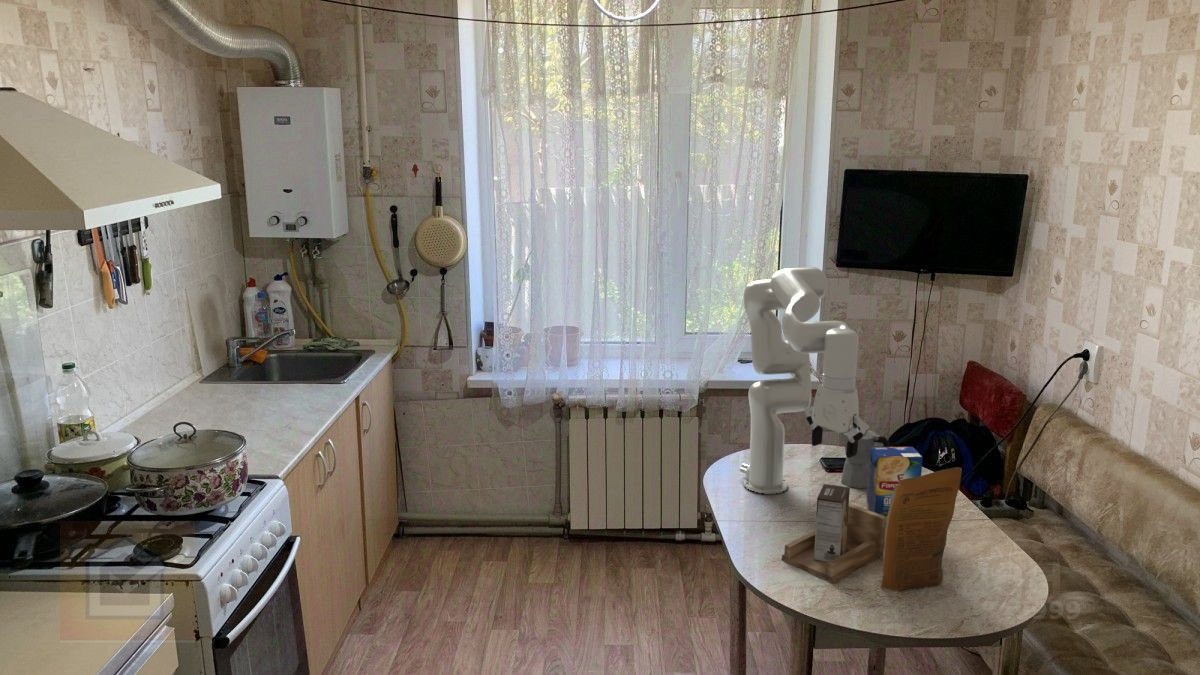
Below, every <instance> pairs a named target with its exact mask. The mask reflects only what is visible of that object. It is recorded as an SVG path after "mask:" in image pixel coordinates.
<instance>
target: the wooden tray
mask: <svg viewBox="0 0 1200 675" xmlns="http://www.w3.org/2000/svg"><path fill="white" fill-rule="evenodd" d="M885 524H886V517H885V516H883V515H880V514H877V513H874V512H872V511H869V510H866V508H864V507H861V506H858V505H854V504H852V503H850V502H849V510H848V526H847V541H846V549H845V552H844V554H843V555H841V556H840V557H838V558H836V559H834V560H832V561H831V562H825V561H820V560H815V559H814V549H815V531H816V529H814V530H812V531H810V532H807V533H806V534H804V535H802V536H800V537H798V538H796V539H794V540H792V541H790V542H788V543H786V544H784V554H781V561H783V560H784V562H785V561H786V562H785V563H788V564H790V565H792V564H793V565H792V566H794V567H797V568H799V569H801V570H803V571H806V572H808V573H811V575H815V576H816V577H819V578H822V579H824V580H825V581H829V582H831V583H833V584H836V583H838V582H840V581H841V580H843V579H845V578H846V577H847V578H848V576H850V575H852V574H854V573H855V572H858V571H859V570H861V569H862V568H864V567H866V566H868V565H869V564H871V563H873V562H875V561H876V560H878V559H879V558H881V557H884V543H885V539H884V537H885Z"/></svg>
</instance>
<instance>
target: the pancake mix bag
mask: <svg viewBox="0 0 1200 675" xmlns="http://www.w3.org/2000/svg"><path fill="white" fill-rule="evenodd" d="M962 471H963V470H962V467H958V466H956V467H950V468H945V469H941V470H937V471H933V472H930V473H927V474H923V475H921V476H918V477H913V478H908V479H903V480H899V485H895V488H894V492H893V495H892V499H891V504H890V507H889V511H888V516H887V521H886V531H885V539H884V550H883V559H882V578H881V583H880V584H881V585H880V588H881V589H883V590H884V589H885V590H887V591H891V592H906V591H911V590H916V589H923V588H928V587H935V586H940V585H941V584H942V583H943V580H944V572H943V558H944V553H945V549H946V546H947V538H948V529H949V527H950V524H951V521H952V519H953V515H954V513H955V506H956V500H957V495H958V493H959V491H960V490H959V489H960V487H961V486H960V485H961V479H962Z"/></svg>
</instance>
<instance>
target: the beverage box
mask: <svg viewBox="0 0 1200 675" xmlns="http://www.w3.org/2000/svg"><path fill="white" fill-rule="evenodd" d="M923 458H924V456H923V455H922V454H920V452H919V451H918V450H917V449H916V448H914V447H913V446H890V447H883V446H880V447H878V446H877V447H876V446H874V447H870V459H869V473H868V487H867V488H866V489H867V490H866V504H865V509H866V510H869V511H872V512H874V513H877V514H880V515H883V516H885V517H886V521H887V516H888V511H889V507H890V504H891V499H892V495H893V492H894V488H895V485H899V480H903V479H908V478H913V477H918V476H922V470H923V469H922V468H923ZM885 531H886V524H885ZM884 540H885V537H884Z"/></svg>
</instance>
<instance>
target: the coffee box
mask: <svg viewBox="0 0 1200 675" xmlns="http://www.w3.org/2000/svg"><path fill="white" fill-rule="evenodd" d="M850 490H851V487H849V486H841V485H834V484H827V483H826V484H825V483H823V485H822V487H821V489H820V491H819V494H818V495H817V498H816V514H815V515H816V517H815V530H816V531H815V549H814V559H815V560H820V561H825V562H831V561H832V560H834V559H836V558H838V557H840V556H841V555H843V554H844V552H845V549H846V541H847V526H848V510H849V503H850V492H851V491H850Z"/></svg>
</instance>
